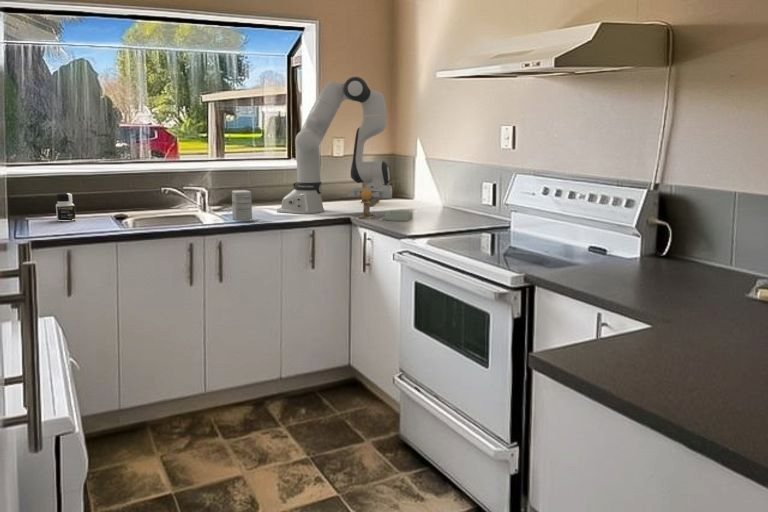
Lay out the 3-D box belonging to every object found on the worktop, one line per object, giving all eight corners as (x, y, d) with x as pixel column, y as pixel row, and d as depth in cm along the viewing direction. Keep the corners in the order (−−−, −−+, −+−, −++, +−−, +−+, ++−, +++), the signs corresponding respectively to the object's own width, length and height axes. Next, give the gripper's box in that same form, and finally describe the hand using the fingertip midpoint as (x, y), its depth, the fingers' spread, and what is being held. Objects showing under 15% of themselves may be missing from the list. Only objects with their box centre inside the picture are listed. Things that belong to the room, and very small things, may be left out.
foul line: (377, 220, 328) (377, 220, 328) (384, 216, 340) (384, 216, 340) (379, 220, 327) (379, 220, 327) (386, 216, 340) (386, 216, 340)
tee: (358, 218, 334) (358, 199, 332) (362, 216, 339) (361, 198, 338) (371, 219, 332) (371, 200, 331) (374, 217, 338) (374, 198, 336)
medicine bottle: (58, 222, 320) (55, 194, 317) (56, 220, 326) (54, 192, 324) (76, 221, 323) (73, 193, 321) (74, 219, 329) (72, 192, 327)
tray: (384, 220, 328) (384, 213, 328) (390, 217, 338) (390, 210, 337) (407, 221, 326) (407, 214, 325) (412, 218, 336) (412, 211, 335)
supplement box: (232, 218, 332) (231, 190, 330) (248, 217, 335) (247, 189, 332) (235, 221, 325) (234, 192, 323) (252, 220, 328) (251, 191, 326)
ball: (359, 200, 333) (359, 189, 332) (362, 199, 337) (362, 188, 336) (370, 201, 331) (370, 189, 330) (373, 199, 336) (373, 188, 335)
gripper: (352, 184, 348) (343, 187, 335) (395, 185, 343) (387, 188, 330) (352, 197, 349) (343, 201, 336) (394, 199, 344) (387, 202, 331)
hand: (366, 194), depth 333 cm, fingers closed on ball, 5 cm apart
